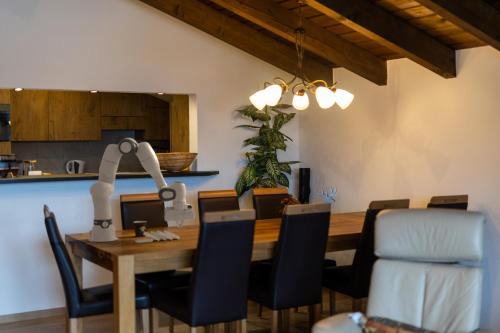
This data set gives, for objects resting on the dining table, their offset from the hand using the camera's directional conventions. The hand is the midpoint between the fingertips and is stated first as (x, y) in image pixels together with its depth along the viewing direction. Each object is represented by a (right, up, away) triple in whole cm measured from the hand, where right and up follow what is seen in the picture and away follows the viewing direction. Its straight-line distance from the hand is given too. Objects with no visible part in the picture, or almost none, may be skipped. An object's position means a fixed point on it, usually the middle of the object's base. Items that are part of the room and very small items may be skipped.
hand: (179, 227), depth 444 cm
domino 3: (-9, -7, -4) cm, 12 cm away
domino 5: (-1, -7, 0) cm, 7 cm away
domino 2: (-13, -7, -6) cm, 16 cm away
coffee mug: (-27, -8, +15) cm, 32 cm away
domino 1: (-17, -7, -8) cm, 20 cm away
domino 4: (-5, -7, -2) cm, 9 cm away
